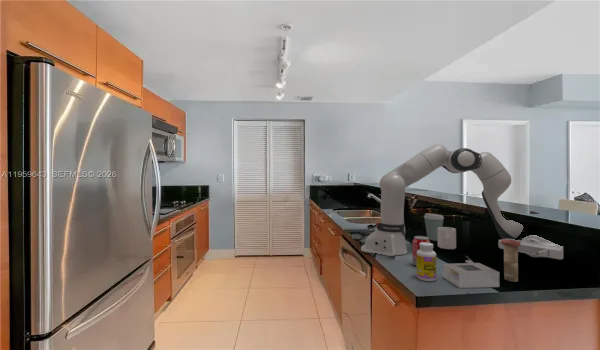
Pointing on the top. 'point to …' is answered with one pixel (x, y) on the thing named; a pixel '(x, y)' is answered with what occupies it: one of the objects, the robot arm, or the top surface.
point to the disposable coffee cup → (433, 225)
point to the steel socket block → (471, 275)
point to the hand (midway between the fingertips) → (522, 251)
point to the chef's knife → (469, 260)
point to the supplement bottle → (426, 262)
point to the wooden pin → (511, 259)
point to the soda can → (416, 246)
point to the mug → (446, 237)
